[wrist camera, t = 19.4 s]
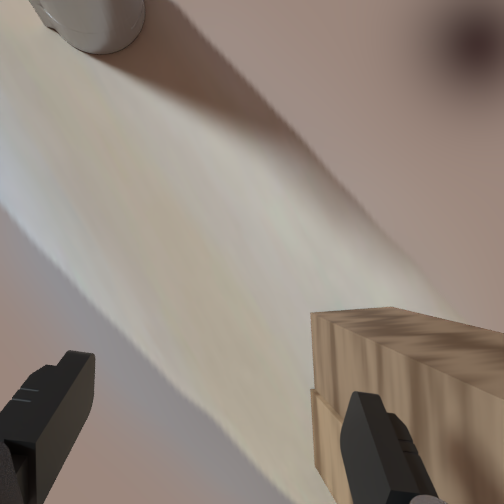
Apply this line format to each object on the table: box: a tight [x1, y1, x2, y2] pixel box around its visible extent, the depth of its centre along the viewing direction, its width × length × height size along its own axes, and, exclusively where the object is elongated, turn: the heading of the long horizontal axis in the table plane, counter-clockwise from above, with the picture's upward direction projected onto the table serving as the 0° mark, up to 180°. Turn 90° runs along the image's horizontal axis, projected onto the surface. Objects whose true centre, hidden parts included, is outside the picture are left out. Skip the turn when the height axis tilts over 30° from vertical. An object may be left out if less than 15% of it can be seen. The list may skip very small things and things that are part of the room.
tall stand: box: [310, 307, 504, 504], centre depth 29 cm, size 9×8×33 cm
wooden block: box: [310, 389, 353, 504], centre depth 35 cm, size 10×8×21 cm
